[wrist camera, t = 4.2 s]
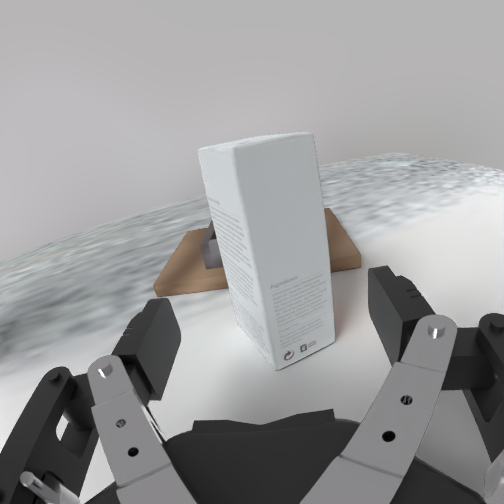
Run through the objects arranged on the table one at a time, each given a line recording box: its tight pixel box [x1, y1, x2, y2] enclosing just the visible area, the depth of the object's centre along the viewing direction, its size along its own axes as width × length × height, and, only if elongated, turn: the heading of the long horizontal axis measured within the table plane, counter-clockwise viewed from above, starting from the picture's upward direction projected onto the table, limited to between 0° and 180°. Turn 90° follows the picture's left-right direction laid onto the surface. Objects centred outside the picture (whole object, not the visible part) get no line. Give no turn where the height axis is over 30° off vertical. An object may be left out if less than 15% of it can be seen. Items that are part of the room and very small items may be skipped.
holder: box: [153, 208, 361, 297], centre depth 32 cm, size 18×14×4 cm
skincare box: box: [198, 132, 335, 370], centre depth 17 cm, size 6×4×12 cm
